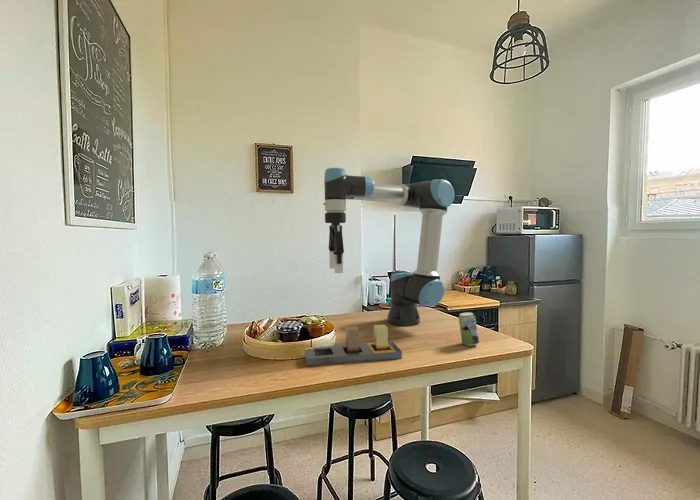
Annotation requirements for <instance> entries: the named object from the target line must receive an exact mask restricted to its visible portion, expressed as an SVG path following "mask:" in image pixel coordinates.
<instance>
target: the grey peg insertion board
mask: <svg viewBox="0 0 700 500" xmlns="http://www.w3.org/2000/svg"><path fill="white" fill-rule="evenodd" d="M315 347H316V346H315ZM312 348H313V349H307V350H305V349H304V357H305V362H306V367H319V366H329V365H330V366H331V365H340V364H341V365H342V364H343V365H344V364H353V363H364V362H365V363H367V362H376V361H377V362H378V361H388V360H401V359H402V358H403V354H402V353H403V351H402V350H401V349H400V348H399V347H398V346H397V344H396V343H395V342H394V341H388V350H383V351H374V342H367V343H359V350H360V352H359V353H346V344H344V345H343V344H342V345H331V346H329V345H328V346H317V347H316V348H314V347H312Z"/></svg>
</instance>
